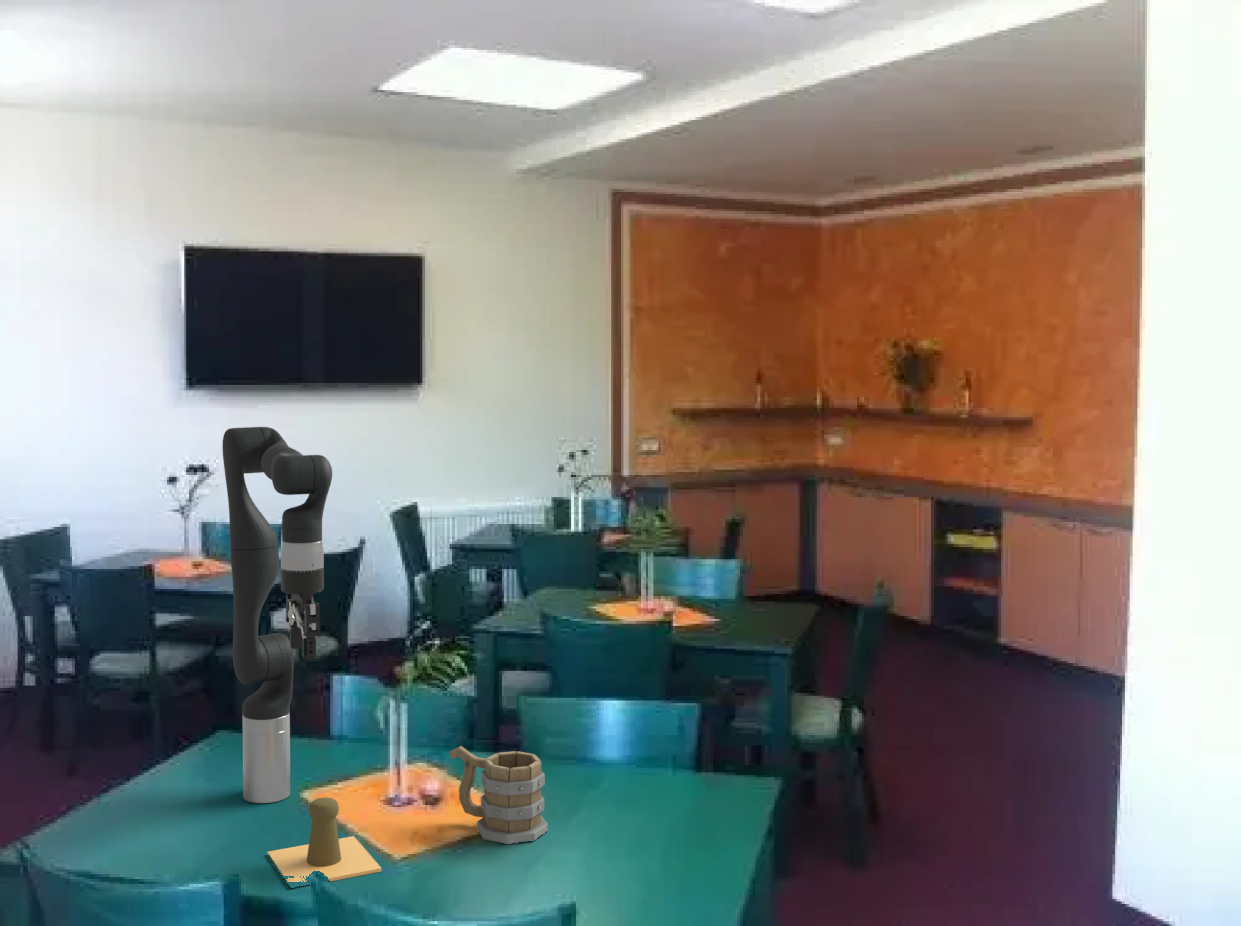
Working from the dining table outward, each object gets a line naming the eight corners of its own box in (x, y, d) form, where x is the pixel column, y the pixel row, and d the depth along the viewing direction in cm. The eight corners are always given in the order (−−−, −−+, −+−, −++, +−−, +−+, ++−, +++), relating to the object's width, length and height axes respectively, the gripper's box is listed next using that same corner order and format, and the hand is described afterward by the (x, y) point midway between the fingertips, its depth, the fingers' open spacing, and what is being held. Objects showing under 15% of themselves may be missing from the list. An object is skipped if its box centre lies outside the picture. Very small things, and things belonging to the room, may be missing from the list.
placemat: (267, 855, 226) (267, 851, 226) (353, 839, 234) (353, 836, 234) (290, 889, 212) (290, 886, 212) (381, 871, 220) (381, 868, 220)
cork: (332, 868, 219) (332, 807, 218) (300, 864, 221) (300, 804, 220) (347, 854, 225) (346, 795, 224) (315, 851, 227) (315, 792, 226)
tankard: (556, 825, 242) (557, 750, 241) (524, 848, 231) (525, 769, 230) (468, 808, 251) (469, 735, 249) (433, 829, 239) (434, 753, 238)
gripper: (334, 570, 221) (334, 660, 223) (312, 557, 234) (312, 642, 235) (291, 573, 218) (292, 664, 219) (271, 560, 230) (272, 646, 232)
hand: (302, 653), depth 227 cm, fingers open, 8 cm apart
